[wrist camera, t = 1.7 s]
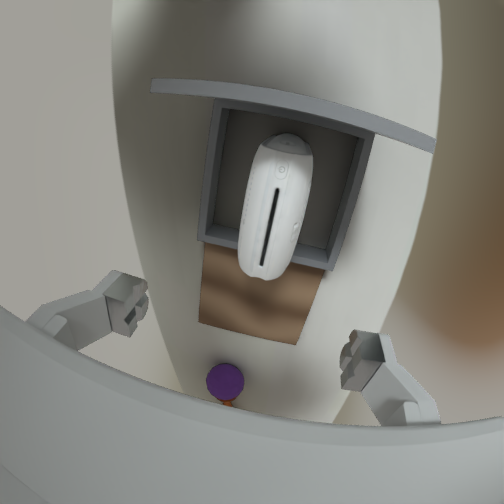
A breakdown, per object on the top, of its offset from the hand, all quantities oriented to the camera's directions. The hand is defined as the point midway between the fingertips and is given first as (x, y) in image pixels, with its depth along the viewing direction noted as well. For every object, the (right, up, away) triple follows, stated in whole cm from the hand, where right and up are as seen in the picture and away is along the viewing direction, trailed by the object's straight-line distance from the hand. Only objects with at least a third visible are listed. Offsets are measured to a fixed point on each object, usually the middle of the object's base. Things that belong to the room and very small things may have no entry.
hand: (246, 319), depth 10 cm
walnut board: (+1, -3, +25) cm, 25 cm away
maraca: (-4, -23, +37) cm, 44 cm away
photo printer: (+3, +10, +18) cm, 21 cm away
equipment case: (+3, +10, +18) cm, 21 cm away
